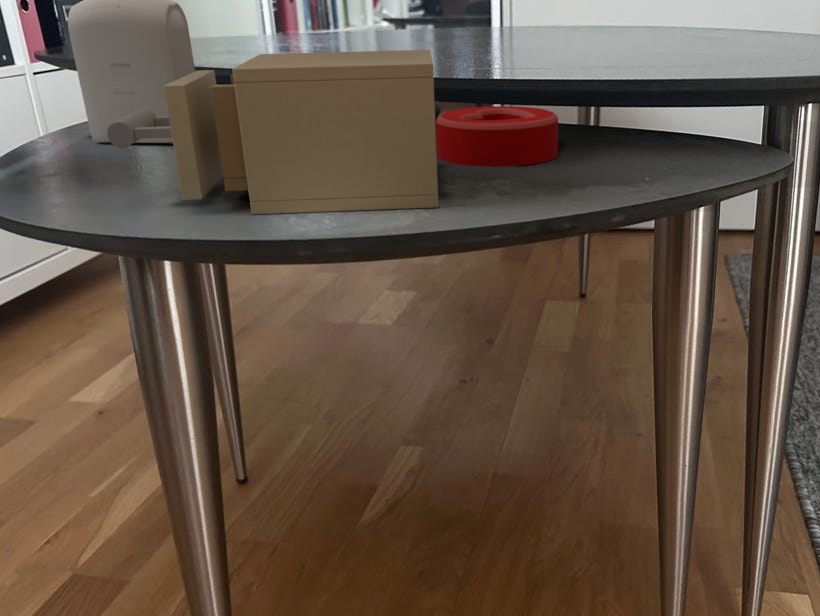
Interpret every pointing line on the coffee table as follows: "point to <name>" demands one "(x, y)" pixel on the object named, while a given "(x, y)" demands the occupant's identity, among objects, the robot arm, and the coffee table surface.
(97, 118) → the photo printer
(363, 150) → the cabinet
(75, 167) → the coffee table surface
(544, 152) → the decorative ornament
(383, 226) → the coffee table surface
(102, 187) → the coffee table surface
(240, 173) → the drawer
